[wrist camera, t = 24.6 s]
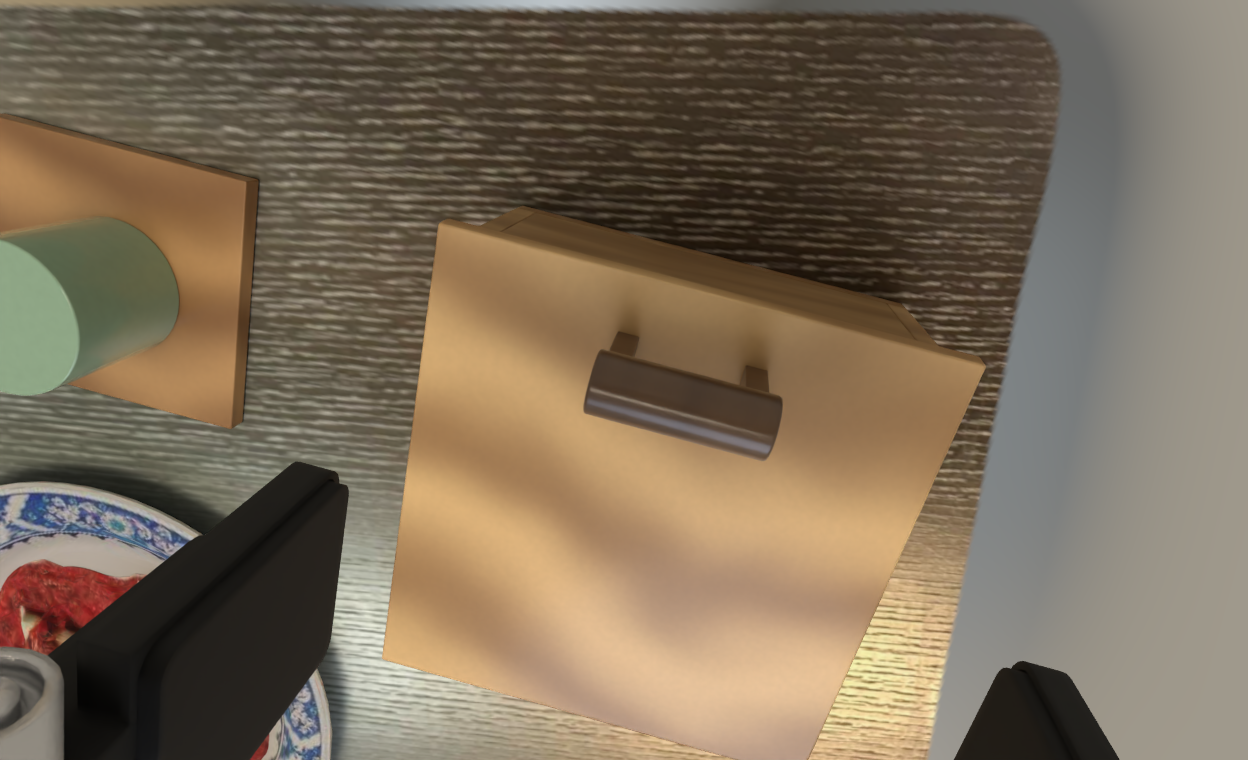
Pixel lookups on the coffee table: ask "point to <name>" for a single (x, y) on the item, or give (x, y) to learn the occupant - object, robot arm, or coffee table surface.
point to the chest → (711, 271)
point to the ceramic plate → (108, 583)
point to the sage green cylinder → (79, 301)
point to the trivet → (179, 226)
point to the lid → (656, 493)
